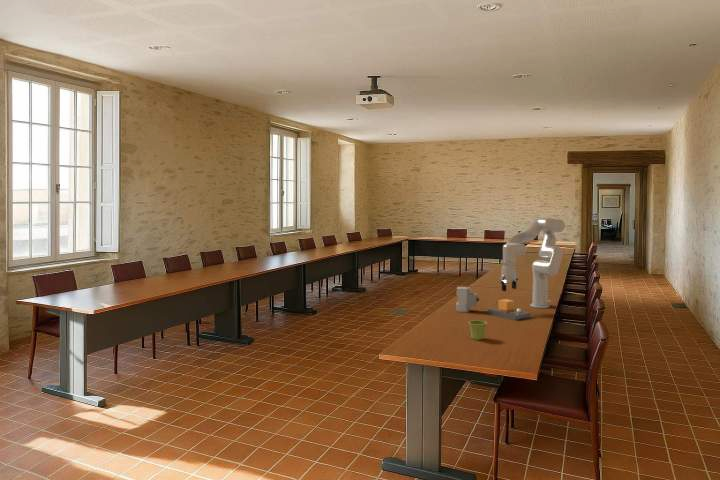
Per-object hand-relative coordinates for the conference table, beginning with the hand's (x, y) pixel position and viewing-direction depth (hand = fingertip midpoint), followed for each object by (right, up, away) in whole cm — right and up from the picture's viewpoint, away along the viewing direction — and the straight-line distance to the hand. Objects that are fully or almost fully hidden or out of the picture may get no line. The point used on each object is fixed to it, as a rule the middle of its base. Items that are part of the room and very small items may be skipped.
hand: (509, 289), depth 352 cm
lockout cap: (-3, -12, -5) cm, 13 cm away
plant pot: (-34, -20, -65) cm, 76 cm away
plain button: (+2, -14, -14) cm, 20 cm away
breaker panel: (-3, -15, -10) cm, 19 cm away
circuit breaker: (-26, -14, +3) cm, 30 cm away
